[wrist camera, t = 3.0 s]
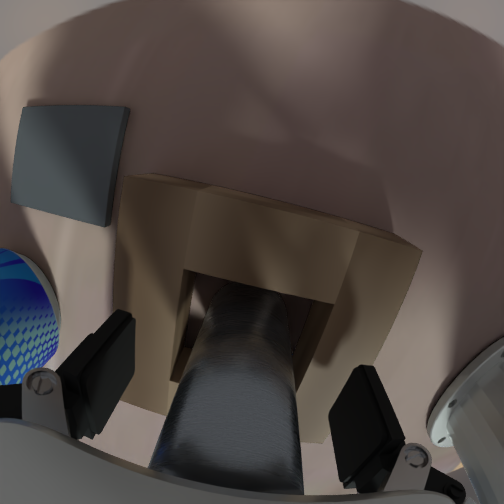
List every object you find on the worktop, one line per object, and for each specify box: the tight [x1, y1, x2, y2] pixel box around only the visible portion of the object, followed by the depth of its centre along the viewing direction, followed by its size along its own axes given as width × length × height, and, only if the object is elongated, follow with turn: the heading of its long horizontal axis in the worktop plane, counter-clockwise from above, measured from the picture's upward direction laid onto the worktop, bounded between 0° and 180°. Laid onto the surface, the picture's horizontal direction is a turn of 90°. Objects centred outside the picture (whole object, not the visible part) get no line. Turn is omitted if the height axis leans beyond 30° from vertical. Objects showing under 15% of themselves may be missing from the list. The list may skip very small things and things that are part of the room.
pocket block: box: [113, 173, 423, 444], centre depth 13 cm, size 12×12×3 cm
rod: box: [148, 282, 304, 495], centre depth 10 cm, size 4×4×10 cm
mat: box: [11, 105, 130, 227], centre depth 12 cm, size 8×6×1 cm
